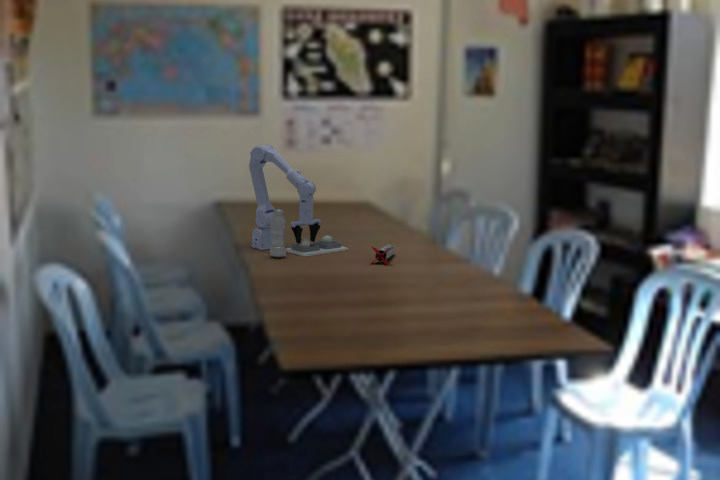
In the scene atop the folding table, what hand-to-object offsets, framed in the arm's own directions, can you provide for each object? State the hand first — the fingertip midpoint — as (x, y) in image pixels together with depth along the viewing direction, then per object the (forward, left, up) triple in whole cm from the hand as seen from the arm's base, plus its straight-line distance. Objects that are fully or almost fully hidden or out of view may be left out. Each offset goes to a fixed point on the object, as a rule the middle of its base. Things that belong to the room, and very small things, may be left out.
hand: (305, 242), depth 365 cm
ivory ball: (-1, 0, -1) cm, 1 cm away
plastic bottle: (-16, -2, -4) cm, 17 cm away
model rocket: (+19, -30, -5) cm, 35 cm away
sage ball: (+12, 0, -1) cm, 12 cm away
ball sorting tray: (+6, 0, -4) cm, 7 cm away
